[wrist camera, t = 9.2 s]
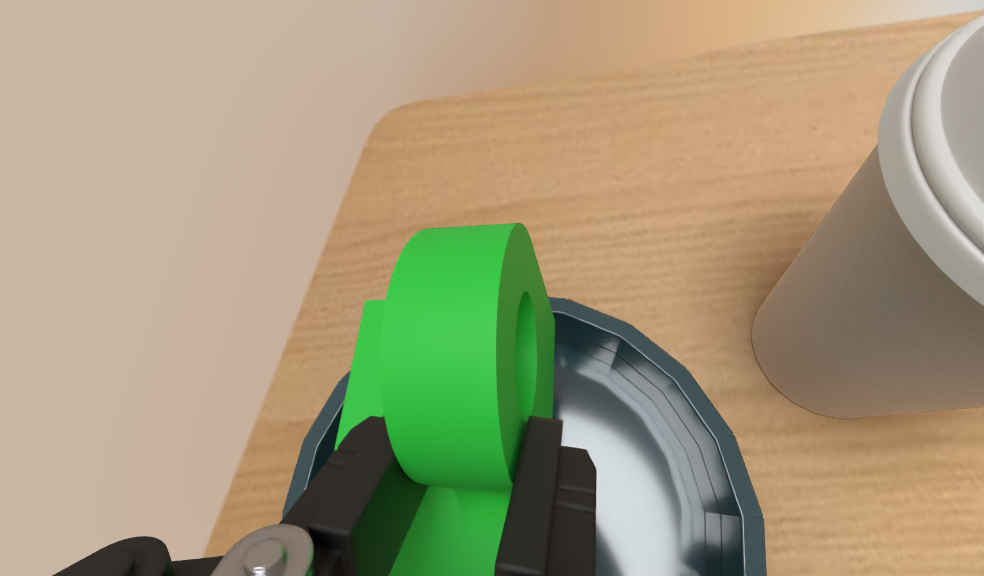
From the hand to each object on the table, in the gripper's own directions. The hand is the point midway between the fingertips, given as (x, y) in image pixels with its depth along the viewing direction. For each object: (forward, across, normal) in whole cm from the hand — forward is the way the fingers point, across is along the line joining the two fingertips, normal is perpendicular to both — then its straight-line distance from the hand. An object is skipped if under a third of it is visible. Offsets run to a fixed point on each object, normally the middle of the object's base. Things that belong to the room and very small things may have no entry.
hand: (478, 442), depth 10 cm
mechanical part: (+2, +1, +5) cm, 5 cm away
